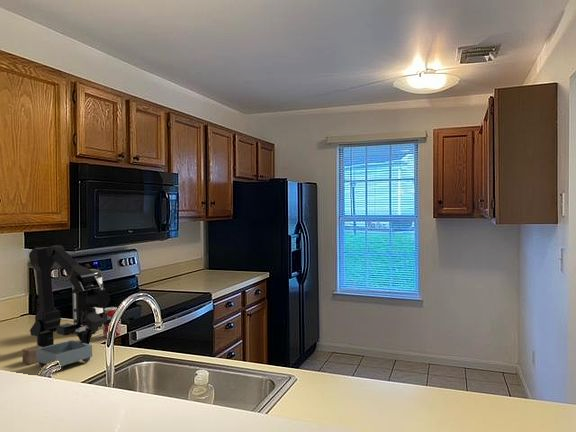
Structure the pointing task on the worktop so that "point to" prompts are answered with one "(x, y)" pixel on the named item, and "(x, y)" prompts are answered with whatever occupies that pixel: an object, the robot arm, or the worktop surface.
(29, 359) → the walnut block
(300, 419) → the worktop surface
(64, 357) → the cart
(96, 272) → the coffee press
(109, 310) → the soda can
